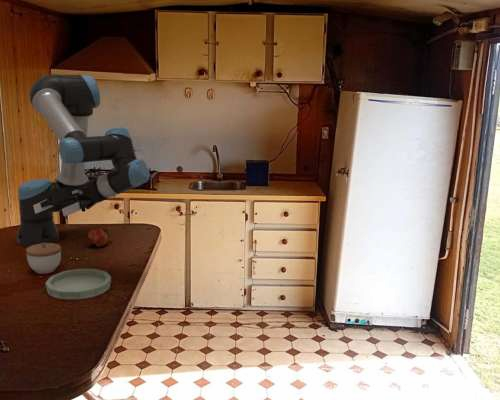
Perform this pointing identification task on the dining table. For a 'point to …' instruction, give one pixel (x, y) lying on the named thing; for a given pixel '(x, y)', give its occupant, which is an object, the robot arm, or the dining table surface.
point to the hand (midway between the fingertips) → (49, 211)
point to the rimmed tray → (78, 284)
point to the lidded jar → (44, 257)
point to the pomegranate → (98, 237)
